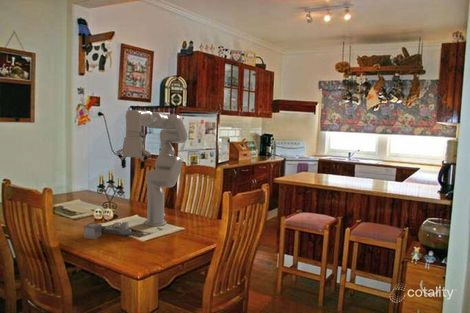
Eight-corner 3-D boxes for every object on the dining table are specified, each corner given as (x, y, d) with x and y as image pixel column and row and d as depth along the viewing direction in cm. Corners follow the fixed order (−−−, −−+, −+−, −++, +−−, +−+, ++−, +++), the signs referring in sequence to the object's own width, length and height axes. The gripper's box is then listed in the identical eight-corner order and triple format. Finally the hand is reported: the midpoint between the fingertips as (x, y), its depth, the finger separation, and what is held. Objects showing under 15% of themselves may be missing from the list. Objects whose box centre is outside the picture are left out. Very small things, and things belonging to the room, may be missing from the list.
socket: (91, 234, 195) (91, 223, 195) (101, 235, 194) (101, 224, 193) (84, 237, 189) (84, 226, 189) (94, 239, 188) (94, 227, 188)
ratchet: (93, 228, 205) (93, 216, 205) (133, 233, 200) (133, 221, 199) (86, 231, 199) (86, 220, 198) (127, 236, 194) (127, 224, 193)
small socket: (116, 228, 207) (116, 222, 207) (122, 228, 206) (122, 222, 206) (112, 230, 204) (112, 223, 203) (118, 230, 203) (118, 224, 203)
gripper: (152, 135, 193) (151, 168, 195) (120, 133, 195) (119, 166, 196) (147, 135, 186) (147, 170, 187) (114, 134, 187) (113, 168, 189)
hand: (133, 168), depth 192 cm, fingers open, 9 cm apart
